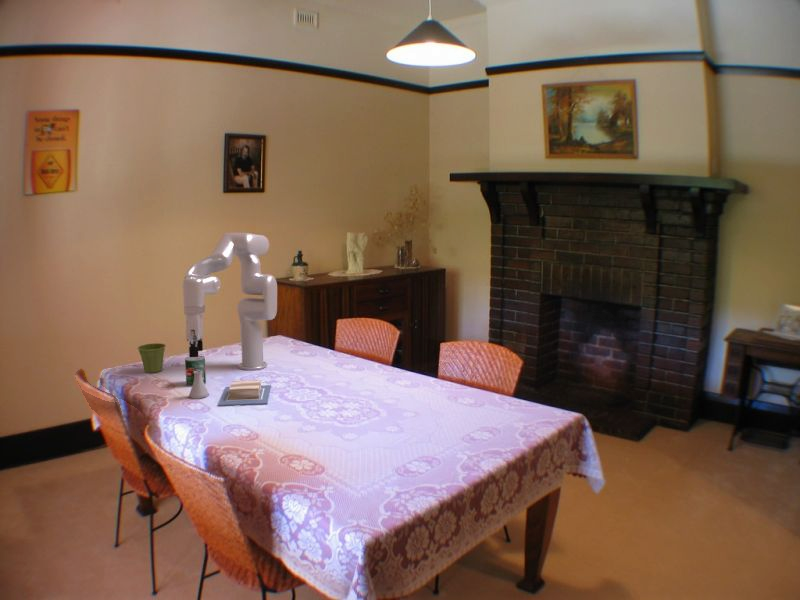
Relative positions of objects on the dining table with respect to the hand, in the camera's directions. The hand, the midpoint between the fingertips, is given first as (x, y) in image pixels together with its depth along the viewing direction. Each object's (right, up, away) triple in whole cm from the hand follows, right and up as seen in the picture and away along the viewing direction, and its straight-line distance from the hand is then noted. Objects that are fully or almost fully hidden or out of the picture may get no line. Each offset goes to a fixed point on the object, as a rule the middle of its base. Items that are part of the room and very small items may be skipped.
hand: (196, 353), depth 249 cm
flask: (0, -17, +3) cm, 17 cm away
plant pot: (-31, -11, +37) cm, 49 cm away
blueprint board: (+18, -17, +4) cm, 25 cm away
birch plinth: (+18, -17, +4) cm, 25 cm away
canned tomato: (-6, -14, +20) cm, 25 cm away
